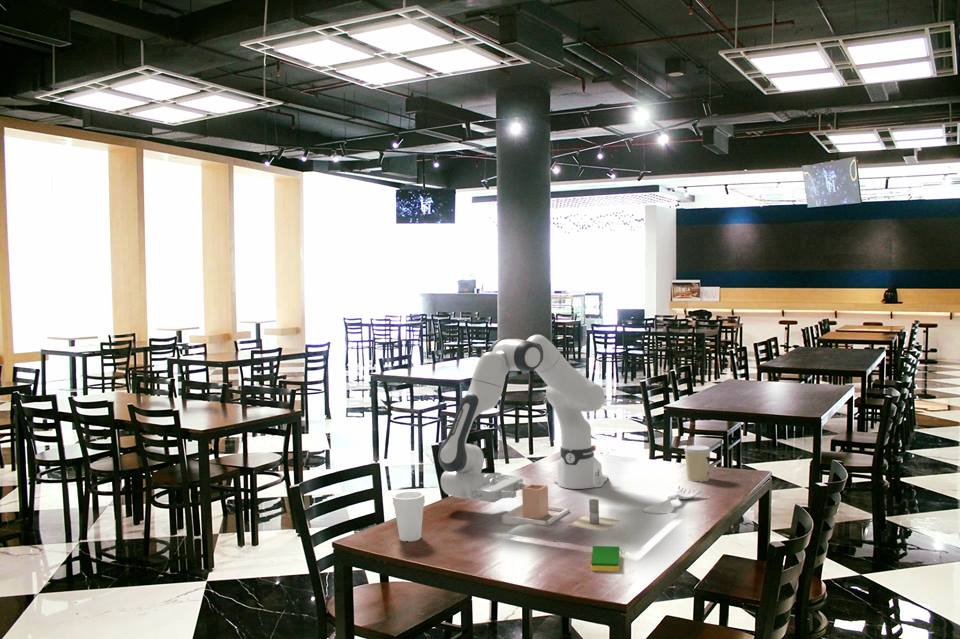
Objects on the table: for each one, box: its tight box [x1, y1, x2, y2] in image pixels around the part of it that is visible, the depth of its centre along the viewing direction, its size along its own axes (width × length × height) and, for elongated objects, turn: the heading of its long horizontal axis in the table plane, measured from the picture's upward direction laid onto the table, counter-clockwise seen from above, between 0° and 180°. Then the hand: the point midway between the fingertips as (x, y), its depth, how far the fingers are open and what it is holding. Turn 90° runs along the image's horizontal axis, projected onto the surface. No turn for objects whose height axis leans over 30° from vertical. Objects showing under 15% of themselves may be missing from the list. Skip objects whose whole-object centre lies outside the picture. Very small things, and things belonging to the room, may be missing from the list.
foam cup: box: [392, 490, 425, 542], centre depth 232 cm, size 10×9×13 cm
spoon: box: [642, 485, 703, 515], centre depth 256 cm, size 9×32×4 cm, turn 142°
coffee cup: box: [684, 444, 711, 483], centre depth 290 cm, size 9×9×12 cm
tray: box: [501, 504, 570, 527], centre depth 246 cm, size 16×16×2 cm
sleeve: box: [521, 483, 549, 520], centre depth 246 cm, size 6×6×10 cm
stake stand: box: [568, 498, 621, 532], centre depth 236 cm, size 12×12×8 cm
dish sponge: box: [590, 545, 620, 573], centre depth 206 cm, size 7×14×2 cm, turn 169°
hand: (522, 491), depth 248 cm, fingers open, 8 cm apart
